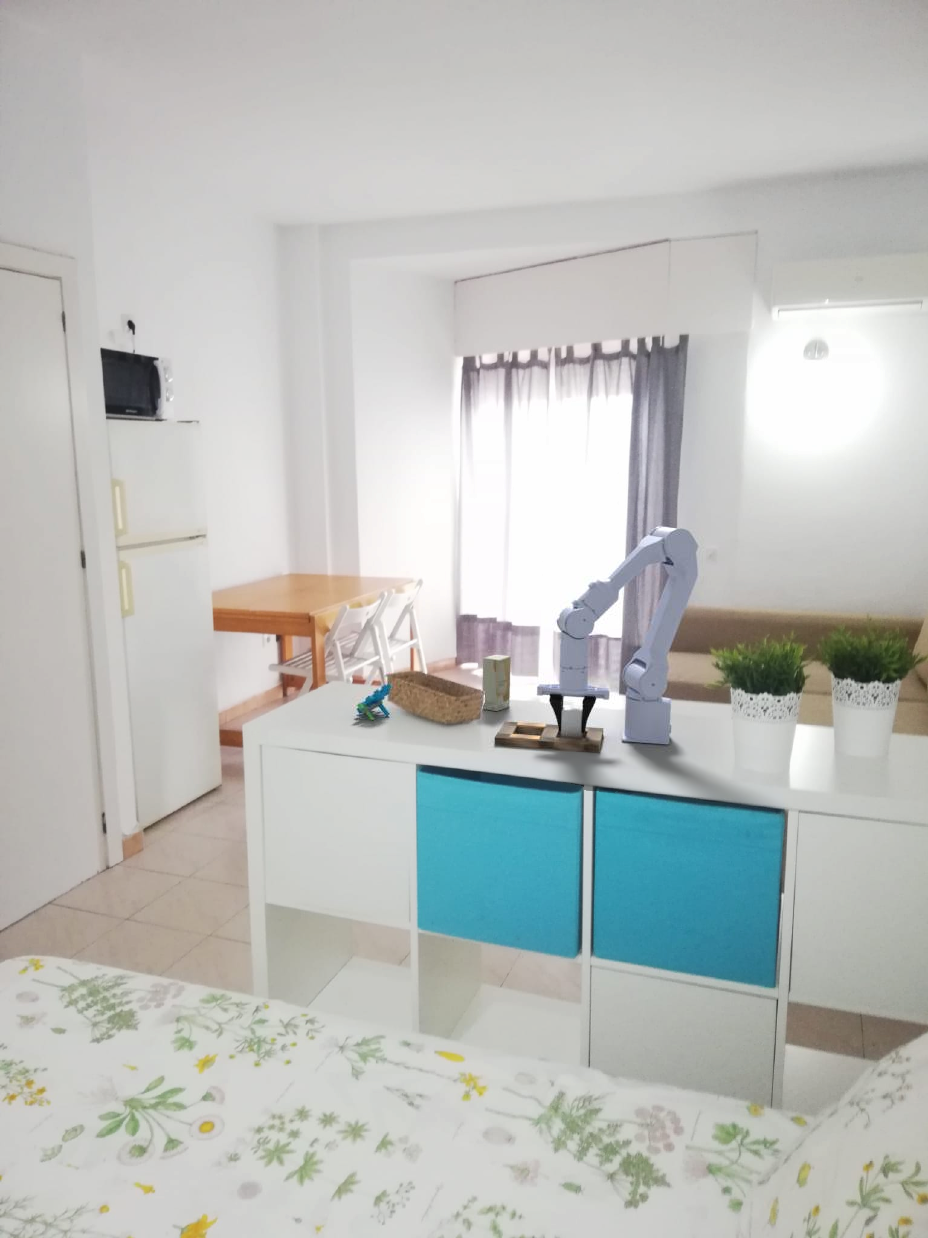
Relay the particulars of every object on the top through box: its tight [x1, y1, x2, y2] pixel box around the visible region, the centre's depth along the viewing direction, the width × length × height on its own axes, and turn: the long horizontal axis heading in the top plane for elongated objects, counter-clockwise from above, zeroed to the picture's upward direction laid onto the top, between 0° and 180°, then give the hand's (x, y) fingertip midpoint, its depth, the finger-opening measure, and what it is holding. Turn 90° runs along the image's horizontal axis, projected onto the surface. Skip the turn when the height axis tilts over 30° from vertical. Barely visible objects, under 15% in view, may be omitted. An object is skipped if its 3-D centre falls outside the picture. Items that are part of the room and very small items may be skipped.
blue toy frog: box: [356, 682, 391, 721], centre depth 193 cm, size 11×6×10 cm
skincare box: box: [481, 654, 512, 712], centre depth 200 cm, size 6×4×12 cm
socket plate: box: [494, 721, 604, 753], centre depth 176 cm, size 21×12×2 cm, turn 77°
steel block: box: [560, 704, 583, 739], centre depth 175 cm, size 4×4×7 cm
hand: (572, 731), depth 175 cm, fingers closed on steel block, 4 cm apart
